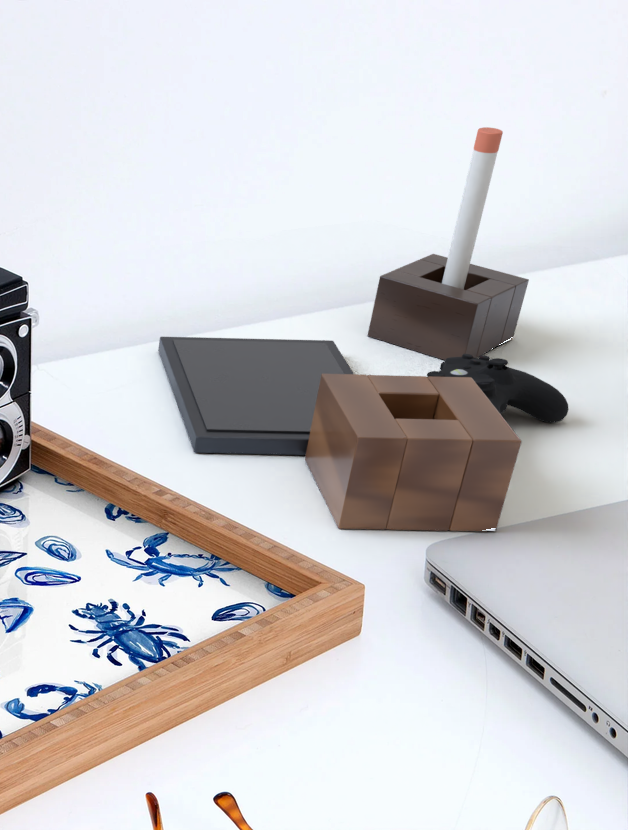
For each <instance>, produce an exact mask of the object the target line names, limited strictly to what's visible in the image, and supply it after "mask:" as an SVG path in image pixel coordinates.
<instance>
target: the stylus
mask: <svg viewBox="0 0 628 830" xmlns="http://www.w3.org/2000/svg"><path fill="white" fill-rule="evenodd" d="M503 133H504V132H503V130H502V129H499V128H495V127H487V126H486V127H480V128H478V129H477V131H476V137H475V139H474V144H473V150H472V155H471V159H470V162H469V167H468V171H467V175H466V179H465V184H464V188H463V192H462V196H461V197H462V198H461V201H460V205H459V208H458V209H459V210H458V214H457V217H456V222H455V225H454V230H453V233H452V234H453V235H452V238H451V242H450V247H449V251H448V256H447V258H448V259H447V263H446V267H445V272H444V276H443V280H442V284H446V285H449V286H453V287H456V288H460V289H464V286H465V282H466V278H467V274H468V270H469V266H470V264H471V260H472V256H473V252H474V249H475V245H476V240H477V236H478V233H479V229H480V225H481V221H482V217H483V213H484V209H485V205H486V201H487V197H488V192H489V189H490V184H491V181H492V177H493V172H494V169H495V165H496V160H497V156H498V153H499V149H500V146H501V142H502V137H503Z"/></svg>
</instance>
